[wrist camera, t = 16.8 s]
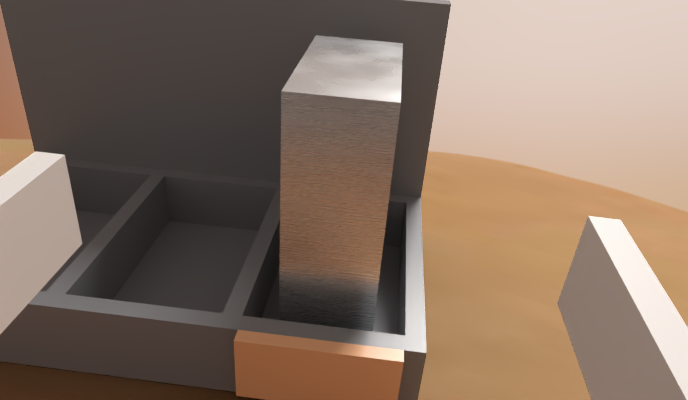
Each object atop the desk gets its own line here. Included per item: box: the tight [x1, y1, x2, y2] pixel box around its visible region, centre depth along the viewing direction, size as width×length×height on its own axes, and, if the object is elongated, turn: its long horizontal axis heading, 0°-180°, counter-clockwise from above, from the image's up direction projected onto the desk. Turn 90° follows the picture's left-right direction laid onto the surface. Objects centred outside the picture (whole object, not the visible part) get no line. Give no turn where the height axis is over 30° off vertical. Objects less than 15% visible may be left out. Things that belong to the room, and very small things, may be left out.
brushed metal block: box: [279, 35, 403, 332], centre depth 25 cm, size 4×8×12 cm, turn 174°
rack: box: [0, 0, 451, 400], centre depth 25 cm, size 23×14×14 cm, turn 84°
